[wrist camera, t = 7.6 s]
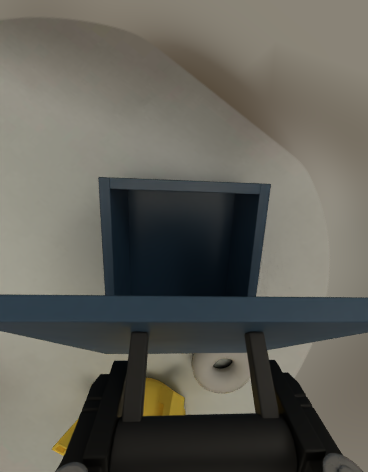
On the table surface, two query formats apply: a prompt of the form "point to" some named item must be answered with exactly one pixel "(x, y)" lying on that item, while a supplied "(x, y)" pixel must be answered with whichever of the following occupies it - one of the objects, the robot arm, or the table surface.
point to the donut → (221, 371)
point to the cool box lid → (190, 341)
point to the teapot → (155, 404)
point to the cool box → (182, 237)
